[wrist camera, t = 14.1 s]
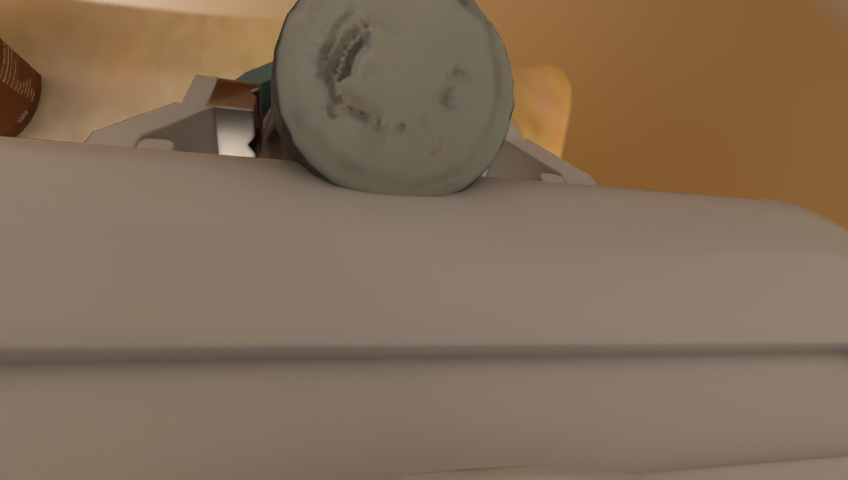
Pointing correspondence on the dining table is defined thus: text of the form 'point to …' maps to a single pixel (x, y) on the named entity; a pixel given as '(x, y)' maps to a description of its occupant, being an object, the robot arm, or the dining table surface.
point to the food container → (16, 92)
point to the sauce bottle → (389, 94)
